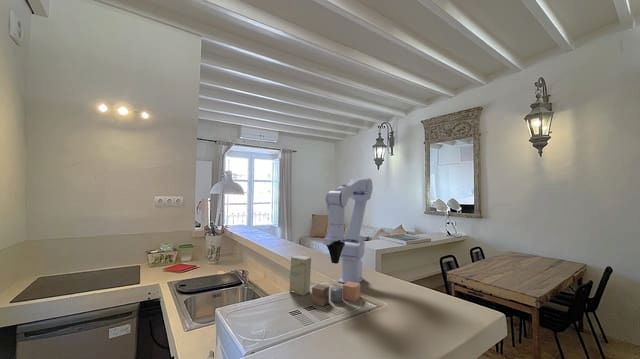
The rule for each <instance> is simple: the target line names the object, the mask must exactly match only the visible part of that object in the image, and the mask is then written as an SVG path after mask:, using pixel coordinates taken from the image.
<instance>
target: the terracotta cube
mask: <svg viewBox="0 0 640 359" xmlns="http://www.w3.org/2000/svg"><path fill="white" fill-rule="evenodd" d="M342 289H343V297H342V300H347V301H351V302H356V301H357V300H358V299H360V298H361V282H360V283H355V282H350V281H348V282H346V283H343V284H342Z"/></svg>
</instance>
